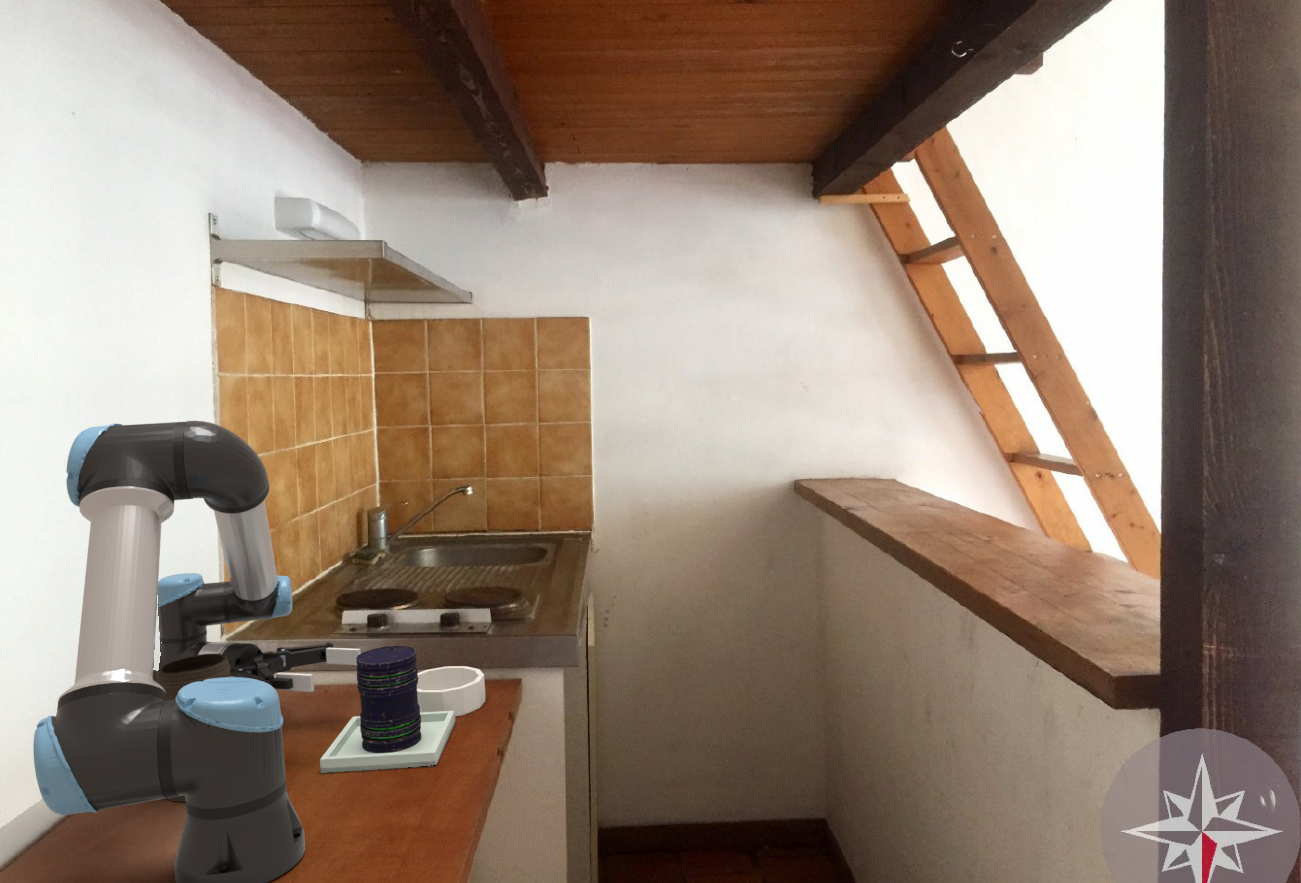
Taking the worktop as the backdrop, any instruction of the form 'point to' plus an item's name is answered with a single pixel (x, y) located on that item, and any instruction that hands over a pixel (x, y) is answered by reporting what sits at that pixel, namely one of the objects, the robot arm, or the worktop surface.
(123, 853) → the worktop surface
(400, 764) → the tray
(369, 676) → the rusty blue drum
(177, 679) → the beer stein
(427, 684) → the holder ring
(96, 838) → the worktop surface
